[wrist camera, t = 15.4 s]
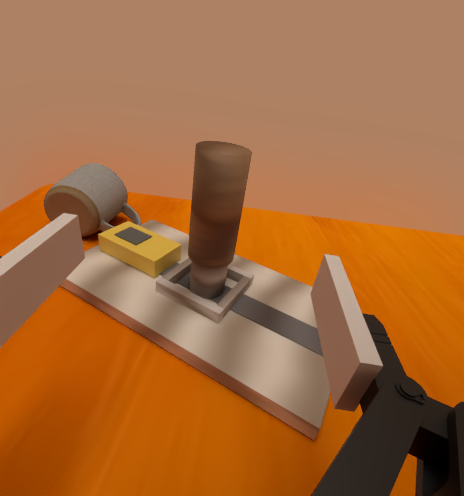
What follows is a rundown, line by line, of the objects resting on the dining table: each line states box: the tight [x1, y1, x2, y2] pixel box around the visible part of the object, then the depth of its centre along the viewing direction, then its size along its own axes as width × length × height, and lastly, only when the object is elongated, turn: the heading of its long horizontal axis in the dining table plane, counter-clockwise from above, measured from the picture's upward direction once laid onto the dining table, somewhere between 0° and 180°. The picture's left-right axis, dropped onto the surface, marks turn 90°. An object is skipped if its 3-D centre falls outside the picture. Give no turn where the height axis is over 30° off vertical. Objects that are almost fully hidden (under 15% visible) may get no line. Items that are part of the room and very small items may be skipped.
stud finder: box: [98, 221, 182, 278], centre depth 33 cm, size 8×4×2 cm, turn 61°
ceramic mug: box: [44, 163, 141, 237], centre depth 38 cm, size 11×8×8 cm
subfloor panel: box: [60, 220, 331, 440], centre depth 30 cm, size 28×15×3 cm, turn 61°
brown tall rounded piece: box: [188, 141, 252, 299], centre depth 26 cm, size 4×4×14 cm
